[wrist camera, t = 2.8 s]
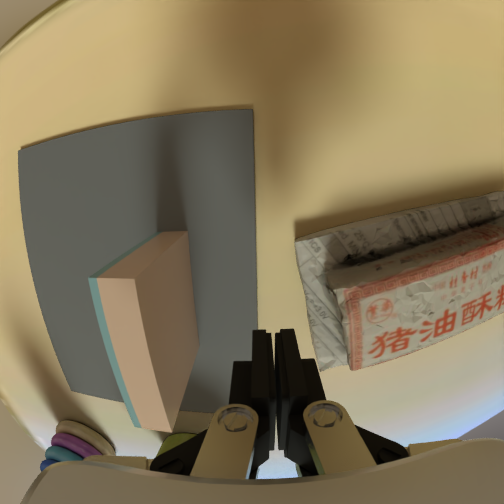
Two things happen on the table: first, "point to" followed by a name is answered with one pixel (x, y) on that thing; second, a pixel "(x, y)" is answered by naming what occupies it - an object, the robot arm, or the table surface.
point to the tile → (149, 326)
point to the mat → (145, 235)
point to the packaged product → (402, 280)
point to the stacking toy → (75, 444)
